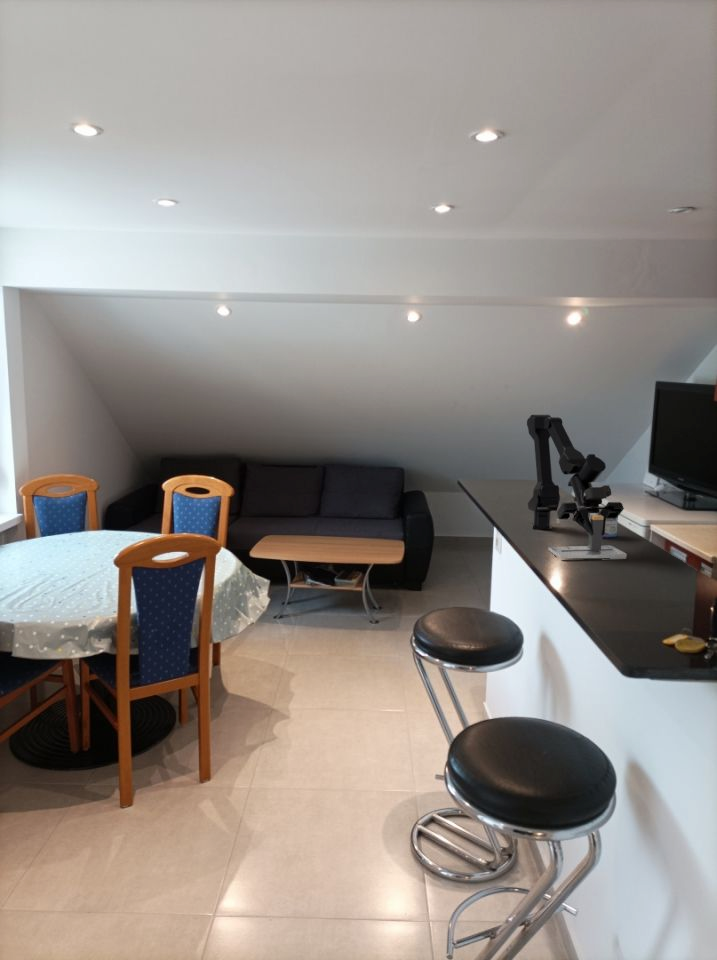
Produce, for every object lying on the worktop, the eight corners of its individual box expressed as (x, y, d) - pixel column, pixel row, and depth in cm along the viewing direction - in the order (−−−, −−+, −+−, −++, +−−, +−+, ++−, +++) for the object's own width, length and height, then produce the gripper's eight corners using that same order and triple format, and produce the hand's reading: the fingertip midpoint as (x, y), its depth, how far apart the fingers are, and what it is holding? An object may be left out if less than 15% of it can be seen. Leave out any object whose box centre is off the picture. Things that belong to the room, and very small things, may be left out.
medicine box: (596, 538, 212) (598, 512, 211) (587, 535, 216) (589, 509, 215) (616, 537, 214) (619, 511, 213) (608, 533, 218) (610, 508, 217)
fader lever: (591, 549, 192) (593, 516, 190) (588, 548, 194) (590, 515, 192) (600, 549, 192) (603, 516, 190) (597, 547, 194) (600, 514, 192)
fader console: (561, 560, 187) (561, 555, 187) (548, 551, 196) (548, 546, 196) (626, 558, 190) (626, 553, 189) (610, 550, 198) (611, 545, 198)
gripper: (563, 475, 192) (577, 521, 183) (623, 475, 194) (640, 520, 185) (551, 496, 201) (563, 540, 192) (608, 496, 203) (623, 539, 194)
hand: (597, 534), depth 191 cm, fingers closed on fader lever, 3 cm apart
